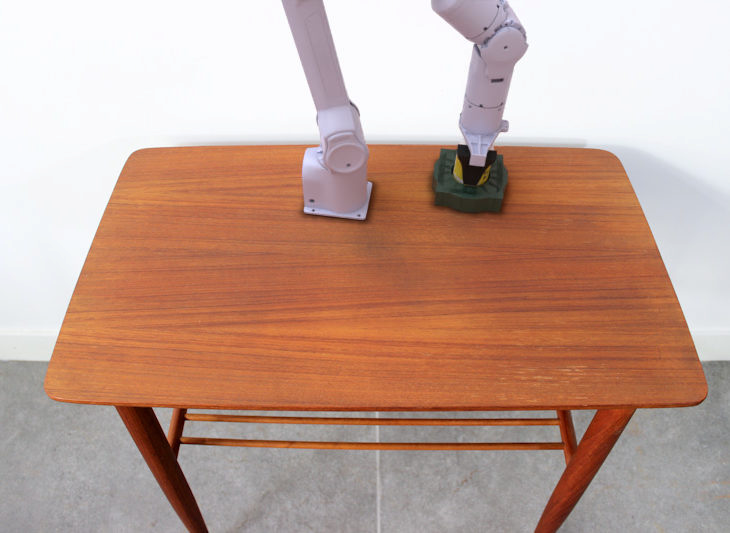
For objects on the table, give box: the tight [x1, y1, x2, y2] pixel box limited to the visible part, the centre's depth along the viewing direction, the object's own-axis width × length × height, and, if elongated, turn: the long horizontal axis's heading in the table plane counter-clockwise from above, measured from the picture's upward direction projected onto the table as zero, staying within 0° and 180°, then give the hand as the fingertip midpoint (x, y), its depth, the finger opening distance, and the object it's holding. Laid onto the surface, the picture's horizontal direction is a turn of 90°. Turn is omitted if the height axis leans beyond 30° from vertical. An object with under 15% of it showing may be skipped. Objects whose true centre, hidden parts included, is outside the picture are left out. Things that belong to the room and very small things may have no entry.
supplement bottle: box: [453, 137, 495, 186], centre depth 91 cm, size 5×5×10 cm
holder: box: [431, 147, 509, 214], centre depth 94 cm, size 11×11×3 cm
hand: (470, 170), depth 92 cm, fingers closed on supplement bottle, 5 cm apart
